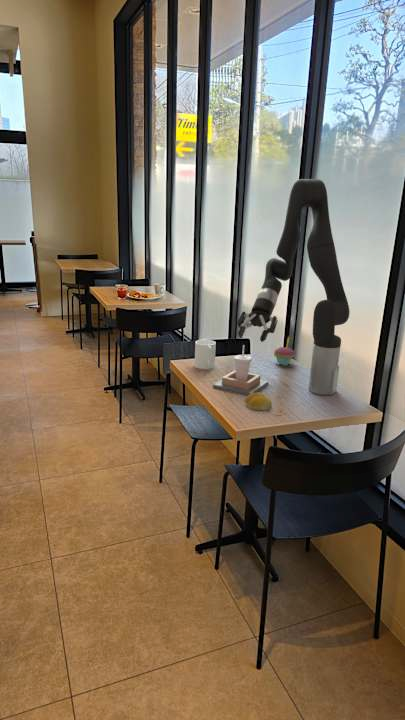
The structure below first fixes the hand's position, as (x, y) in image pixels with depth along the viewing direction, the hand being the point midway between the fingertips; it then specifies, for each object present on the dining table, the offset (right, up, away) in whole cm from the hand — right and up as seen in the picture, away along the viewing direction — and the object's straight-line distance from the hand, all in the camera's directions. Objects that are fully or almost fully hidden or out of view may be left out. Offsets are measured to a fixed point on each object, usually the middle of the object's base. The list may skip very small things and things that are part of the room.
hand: (250, 338), depth 176 cm
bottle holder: (-3, -17, 0) cm, 18 cm away
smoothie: (-3, -16, 0) cm, 17 cm away
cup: (-16, -11, +19) cm, 27 cm away
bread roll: (+1, -23, -16) cm, 28 cm away
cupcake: (+17, -10, +28) cm, 34 cm away
